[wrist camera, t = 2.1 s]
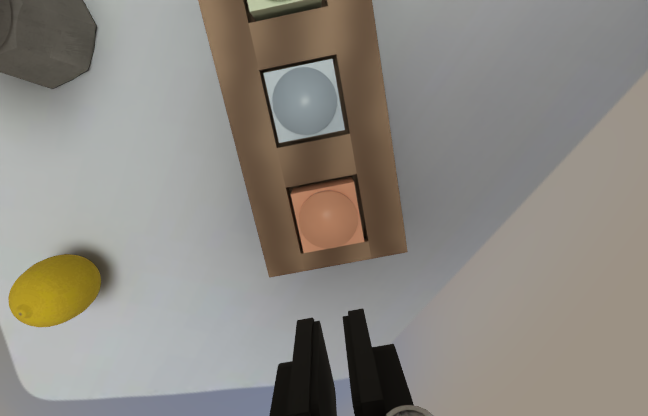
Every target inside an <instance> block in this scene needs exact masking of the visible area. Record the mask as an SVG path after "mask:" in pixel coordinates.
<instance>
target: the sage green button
mask: <svg viewBox="0 0 648 416" xmlns="http://www.w3.org/2000/svg"><path fill="white" fill-rule="evenodd" d="M247 2H248V6H249V11H250V13H251V14H252V16H253V17H254V19H255V20H256V21H261V20H265V19H270V18H275V17H280V16H284V15H289V14H294V13H298V12H303V11H308V10H312V9H317V8H321V2H322V0H247Z"/></svg>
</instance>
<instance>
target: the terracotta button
mask: <svg viewBox="0 0 648 416" xmlns="http://www.w3.org/2000/svg"><path fill="white" fill-rule="evenodd" d="M291 198H292V203H293V207H294V211H295V216H296V220H297V225H298V229H299V234H300V238H301V243H302V247H303V252H304V253H308V252H313V251H318V250H324V249H329V248H336V247H340V246H345V245H351V244H356V243H361V242H364V236H363V231H362V225H361V219H360V214H359V208H358V202H357V196H356V191H355V185H354V181H353V179H352V177H347V178H342V179H337V180H331V181H326V182H321V183H316V184H311V185H306V186H300V187H295V188H293V189H292V192H291Z"/></svg>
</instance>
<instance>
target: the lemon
mask: <svg viewBox="0 0 648 416" xmlns="http://www.w3.org/2000/svg"><path fill="white" fill-rule="evenodd" d="M100 285H101V277H100V273H99V271H98V269H97V267H96V266H95V265H94V264H93V263H92V262H91V261H90V260H88V259H86V258H84V257H81V256H78V255H70V254H64V255H58V256H53V257H50V258H47V259H45V260H42V261H40V262H38V263H36V264H34V265H33V266H32V267H30V268H29V269H28V270H27V271H25V272H24V273H23V274H22V275H21V276H20V277H19V278H18V279H17V280H16V281H15V283H14V285H13V286H12V288H11V290H10V293H9V307H10V309H11V312H12V313H13V315H14V316H15V317H16V318H17V319H18V320H19V321H21V322H23V323H25V324H27V325H30V326H35V327H50V326H54V325H58V324H61V323H64V322H66V321H68V320H70V319H72V318H74V317H75V316H77V315H79V314H80V313H82V312H83V311H84V310H85V309H87V307H88V306H89V305H90V304H91V303H92V302H93V301H94V300H95V298H96V296H97V294H98V292H99V290H100Z"/></svg>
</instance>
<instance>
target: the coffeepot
mask: <svg viewBox="0 0 648 416" xmlns="http://www.w3.org/2000/svg"><path fill="white" fill-rule="evenodd" d="M95 29H96V25H95V23H94V21H93V19H92V17H91V15H90V13H89V11H88V9H87V7H86V5H85V3H84V2H83V0H0V72H2V73H5V74H8V75H11V76H14V77H17V78H20V79H23V80H26V81H30V82H33V83H36V84H39V85H42V86H45V87H48V88H51V89H53V88H55V87H57V86H59V85H61V84H63V83H66V82H68V81H71V80H73V79H74V78H76V77H77V76H79V75H80V74H81V73H83V72H85V71H87V70H88V68H89V65H90V62H91V58H92V55H93V52H94V46H95Z"/></svg>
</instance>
